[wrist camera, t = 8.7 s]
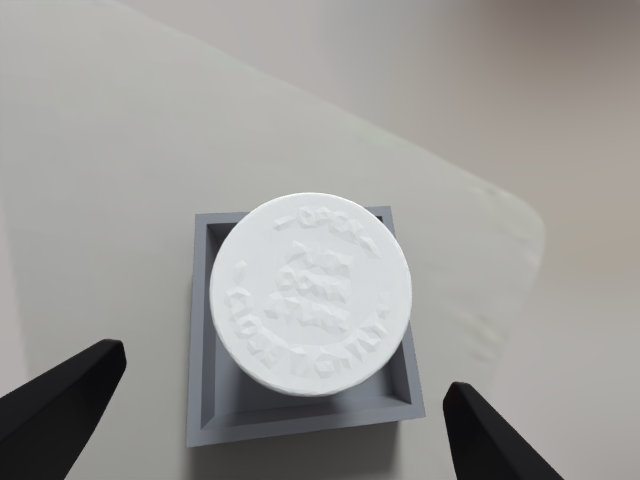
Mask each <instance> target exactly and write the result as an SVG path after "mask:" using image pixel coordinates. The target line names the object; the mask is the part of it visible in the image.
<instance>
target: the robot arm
mask: <svg viewBox="0 0 640 480" xmlns="http://www.w3.org/2000/svg"><path fill="white" fill-rule="evenodd" d="M126 364H127V361H126V356H125V351H124V346H123V343H122V342H121V341H120V340H113V339H104V340H101V341H99V342H97V343H96V344H94V345H92V346H90V347H89V348H87V349H85V350H83V351H82V352H80V353H78V354H76V355H75V356H73V357H71V358H69V359H68V360H66V361H64V362H62V363H61V364H59V365H57V366H55V367H54V368H52V369H50V370H48V371H47V372H45V373H43V374H41V375H40V376H38V377H36V378H34V379H33V380H31V381H29V382H27V383H26V384H24V385H22V386H21V387H19V388H17V389H15V390H14V391H12V392H10V393H9V394H6V395H5V396H3V397H1V398H0V480H64V479H65V477H66V476H67V474H68V472H69V471H70V469H71V468H72V466H73V464H74V463H75V461H76V460H77V458H78V456H79V455H80V453H81V452H82V450H83V448H84V447H85V445H86V444H87V442H88V440H89V439H90V437H91V435H92V434H93V432H94V430H95V428H96V426H97V425H98V423H99V421H100V419H101V417H102V415H103V413H104V411H105V409H106V407H107V405H108V403H109V401H110V399H111V397H112V395H113V393H114V391H115V389H116V387H117V385H118V383H119V381H120V379H121V377H122V375H123V373H124V371H125V369H126ZM443 412H444V417H445V423H446V428H447V433H448V439H449V444H450V449H451V454H452V460H453V464H454V469H455V473H456V477H457V480H564V479H563V478H562V477H561V476H560V475H559V474H558V473H557V472H556V471H555V470H554V469H553V468H552V467H551V466H550V465H549V464H548V463H547V462H546V461H545V460H544V459H543V458H542V457H541V456H540V455H539V454H538V453H537V452H536V451H535V450H534V449H533V448H532V447H531V445H530V444H529V443H528V442H526V440H524V438H523V437H522V436H521V435H519V433H518V432H517V431H516V430H515V429H514V428H513V427H512V426H511V425H510V424H509V423H508V422H507V421H506V420H505V419H504V418H503V417H502V416H501V415H500V414H499V413H498V412H497V411H496V410H495V409H494V408H493V407H492V406H491V405H490V404H489V403H488V402H487V401H486V400H485V399H484V398H483V397H482V396H481V395H480V394H479V393H478V392H477V391H476V390H475V389H474V388H473V387H472V386H471V385H470V384H468V383H463V382H453V383H452V384H451V386H450V388H449V390H448V392H447V394H446V396H445V398H444V400H443Z"/></svg>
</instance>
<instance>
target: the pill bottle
mask: <svg viewBox="0 0 640 480" xmlns="http://www.w3.org/2000/svg"><path fill="white" fill-rule="evenodd" d="M209 301H210V310H211V315H212V320H213V324H214V327H215V330H216V332H217V335H218V337H219V339H220V341H221V343H222V345H223V347H224V349H225V350H226V352H227V353H228V355H229V356H230V357H231V359H232V360H233V361H234V362H235V363H236V364H237V365H238V366H239V367H240V368H241V369H242V370H243V371H244V372H245V373H246V374H247V375H248V376H250V377H251V378H252V379H253V380H255V381H256V382H257V383H259V384H261V385H263V386H265V387H266V388H268V389H271V390H273V391H276V392H279V393H282V394H286V395H292V396H301V397H323V396H329V395H335V394H338V393H342V392H345V391H347V390H350V389H352V388H354V387H356V386H358V385H360V384H362V383H363V382H365V381H367V380H368V379H369V378H371V377H372V376H373V375H375V374H376V373H377V372H378V371H379V370H380V369H381V368H382V367H383V366H384V365H385V364H386V363H387V362H388V361H389V360H390V358H391V357H392V356H393V354H394V353H395V351H396V350H397V348H398V346H399V344H400V343H401V341H402V339H403V337H404V334H405V332H406V330H407V326H408V323H409V319H410V314H411V309H412V284H411V277H410V272H409V269H408V265H407V262H406V259H405V256H404V254H403V252H402V250H401V248H400V246H399V244H398V242H397V241H396V240H395V238H394V236H393V235H392V233H391V232H390V231H389V230H388V229H387V227H386V226H385V225H384V224H383V223H382V222H381V221H380V220H379V219H378V218H376V217H375V216H374V215H373V214H372V213H370V212H369V211H368V210H366V209H364V208H363V207H361V206H360V205H358V204H356V203H354V202H352V201H350V200H347V199H344V198H341V197H338V196H334V195H329V194H323V193H297V194H291V195H287V196H283V197H279V198H276V199H274V200H271V201H269V202H266V203H264V204H262V205H261V206H259V207H257V208H256V209H254V210H253V211H252V212H250V213H249V214H248V215H246V216H245V217H244V218H243V219H242V220H241V221H240V222H239V223H238V224H237V225H236V226H235V227H234V228H233V229H232V231H231V232H230V233H229V235H228V236H227V238H226V239H225V240H224V242H223V244H222V246H221V248H220V250H219V252H218V254H217V257H216V259H215V262H214V265H213V269H212V272H211V278H210V287H209Z"/></svg>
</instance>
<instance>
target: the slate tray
mask: <svg viewBox="0 0 640 480" xmlns="http://www.w3.org/2000/svg"><path fill="white" fill-rule="evenodd" d="M363 208H364V209H366V210H368V211H369V212H370V213H372V214H373V215H374V216H375V217H376V218H378V219H379V220H380V221H381V222H382V223H383V224H384V225H385V226H386V227H387V229H388V230H389V231H390V232H391V233H392V235H393V236H394V238H395V240H396V237H395V231H394V225H393V220H392V214H391V208H390V206H381V207H363ZM249 213H250V212H236V213H212V214H195V239H194V263H193V287H192V311H191V335H190V360H189V384H188V408H187V432H186V448H188V447H195V446H203V445H211V444H219V443H227V442H235V441H242V440H250V439H258V438H266V437H274V436H282V435H289V434H297V433H305V432H313V431H321V430H329V429H337V428H344V427H352V426H360V425H368V424H376V423H384V422H391V421H399V420H407V419H415V418H423V417H426V414H425V408H424V403H423V397H422V391H421V385H420V379H419V373H418V367H417V361H416V355H415V349H414V344H413V338H412V332H411V326H410V320H409V323H408V326H407V330H406V332H405V334H404V337H403V339H402V341H401V343H400V344H399V346H398V348H397V350H396V351H395V353H394V354H393V356H392V357H391V358H390V360H389V361H388V362H387V363H386V364H385V365H384V366H383V367H382V368H381V369H380V370H379V371H378V372H377V373H376V374H375V375H373V376H372V377H371V378H369V379H368V380H367V381H365V382H363V383H362V384H360V385H358V386H356V387H354V388H352V389H350V390H347V391H345V392H342V393H338V394H335V395H329V396H323V397H301V396H292V395H286V394H282V393H279V392H276V391H273V390H271V389H268V388H266V387H265V386H263V385H261V384H259V383H257V382H256V381H255V380H253V379H252V378H251V377H250V376H248V375H247V374H246V373H245V372H244V371H243V370H242V369H241V368H240V367H239V366H238V365H237V364H236V363H235V362H234V361H233V360H232V359H231V357H230V356H229V355H228V353H227V352H226V350H225V349H224V347H223V345H222V343H221V341H220V339H219V337H218V335H217V332H216V330H215V327H214V324H213V320H212V315H211V310H210V301H209V287H210V278H211V272H212V269H213V265H214V262H215V259H216V257H217V254H218V252H219V250H220V248H221V246H222V244H223V242H224V240H225V239H226V238H227V236H228V235H229V233H230V232H231V231H232V229H233V228H234V227H235V226H236V225H237V224H238V223H239V222H240V221H241V220H242V219H243V218H244V217H245V216H246V215H248V214H249Z"/></svg>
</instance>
